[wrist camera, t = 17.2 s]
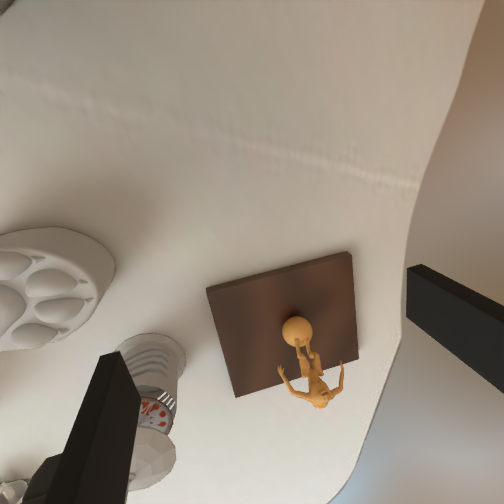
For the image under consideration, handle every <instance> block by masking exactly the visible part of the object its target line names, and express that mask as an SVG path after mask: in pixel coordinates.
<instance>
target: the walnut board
mask: <svg viewBox="0 0 504 504" xmlns="http://www.w3.org/2000/svg"><path fill="white" fill-rule="evenodd" d="M206 292H207V296H208V300H209V304H210V307H211V311H212V314H213V318H214V322H215V325H216V329H217V333H218V336H219V340H220V344H221V347H222V351H223V354H224V358H225V362H226V365H227V369H228V373H229V376H230V380H231V384H232V387H233V391H234V395H235V398H237V397H240V396H244V395H247V394H250V393H253V392H256V391H259V390H263V389H266V388H269V387H272V386H275V385H278V384H282V383H284V381H283V379H282V377H281V376H280V374H279V372H278V370H279V368H280V365H281V369H282V370H283V368H284V372H283V375H284V376H285V377H286V378H287V380H288V381H291V380H294V379H297V378H301V377H302V375H301V368H300V359H298V357H297V351H296V347H294V346H291V345H290V344H288V343H287V342H286V341H285V339H284V337H283V333H282V329H283V325H284V323H285V322H286V321H287V320H288V319H289V318H291V317H295V316H299V317H303V318H305V319H306V320H307V321H308V322H309V323H310V325H311V327H312V338H311V340H310V342H309V346H310V351H311V353H314V352H316V353H318V354H319V359H320V363H321V369H322V371H323V370H326V369H329V368H332V367H335V366H339V365H340V364H341V363H340V361H341V362H342V364H345V363H348V362H351V361H354V360H358V359H359V354H358V339H357V325H356V310H355V296H354V281H353V267H352V255H351V254H350V253H348V252H347V251H345V252H342V253H338V254H334V255H330V256H326V257H323V258H319V259H315V260H311V261H307V262H304V263H300V264H296V265H292V266H288V267H285V268H281V269H277V270H273V271H269V272H266V273H262V274H258V275H254V276H250V277H247V278H243V279H239V280H235V281H231V282H228V283H224V284H220V285H216V286H212V287H209V288H206ZM300 353H303V354H304V355H305V357H306V359H307V361H308V362H309V364H310V369H313V366H312V361H313V359H314V358H313V359H312V358H310V357H309V355H308V353H307V350H306V346H305V345H304V346H302V347H300ZM278 366H279V368H278ZM277 368H278V369H277ZM310 369H309V370H310ZM313 370H314V369H313Z"/></svg>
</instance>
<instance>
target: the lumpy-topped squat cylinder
mask: <svg viewBox="0 0 504 504" xmlns="http://www.w3.org/2000/svg"><path fill="white" fill-rule="evenodd" d="M115 269H116V268H115V262H114V259H113V257H112V255H111V254H110V252H109V251H108V250H107V249H106V248H105V247H104V246H102V245H101V244H100V243H98V242H97V241H96V240H94V239H92V238H90V237H88V236H86V235H83V234H81V233H78V232H75V231H72V230H69V229H65V228H61V227H44V228H33V229H26V230H20V231H16V232H11V233H6V234H3V235H0V351H8V350H16V349H36V348H39V347H42V346H44V345H46V344H49V343H53V342H56V341H59V340H62V339H64V338H65V337H67V336H69V335H70V334H72V333H73V332H74V331H76V330H77V329H78V328H80V327H81V326H82V325H83V324H84V323H86V322H87V321H88V320H89V318H90V317H91V316H92V314H93V313H94V311H95V310H96V308H97V306H98V304H99V303H100V301H101V299H102V297H103V296H104V294H105V292H106V290H107V289H108V287H109V285H110V283H111V281H112V279H113V277H114V274H115Z"/></svg>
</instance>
